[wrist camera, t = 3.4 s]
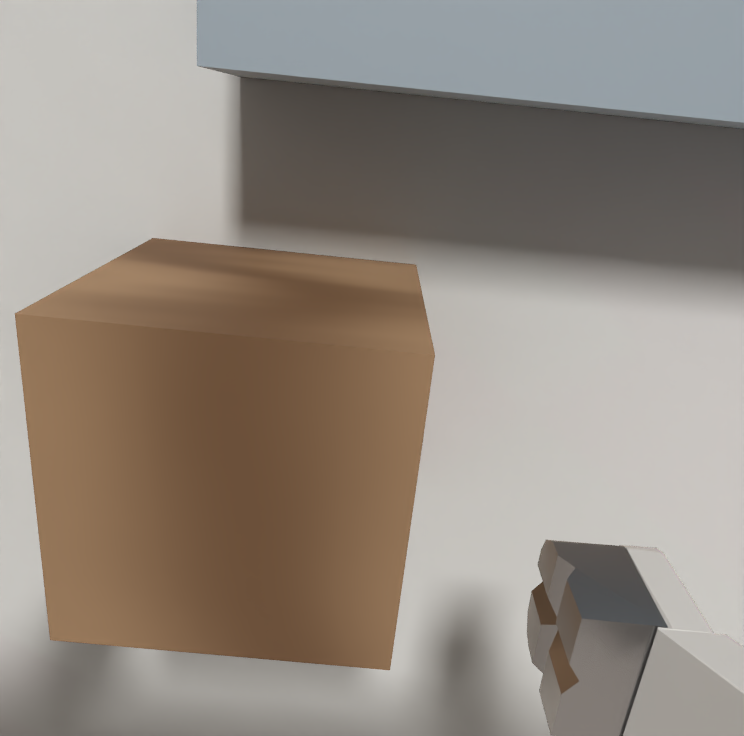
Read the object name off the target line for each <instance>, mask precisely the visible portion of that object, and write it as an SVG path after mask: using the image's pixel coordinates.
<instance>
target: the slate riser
mask: <svg viewBox="0 0 744 736" xmlns="http://www.w3.org/2000/svg"><path fill="white" fill-rule="evenodd" d="M197 66H200V67H204V68H208V69H212V70H216V71H220V72H224V73H227V74H231V75H235V76H239V77H249V78H258V79H268V80H278V81H287V82H297V83H307V84H316V85H326V86H336V87H345V88H355V89H364V90H374V91H384V92H393V93H403V94H413V95H422V96H432V97H442V98H451V99H461V100H471V101H480V102H490V103H499V104H509V105H519V106H528V107H538V108H548V109H557V110H567V111H577V112H586V113H596V114H606V115H615V116H625V117H634V118H644V119H654V120H663V121H673V122H683V123H692V124H702V125H712V126H721V127H731V128H741V129H744V0H197Z"/></svg>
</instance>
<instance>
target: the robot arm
mask: <svg viewBox="0 0 744 736" xmlns="http://www.w3.org/2000/svg"><path fill="white" fill-rule="evenodd" d="M538 567H539V571H540V574H541V577H542V580H543V582H542V583H541V584H539V585H538V586H537V587H536V588H535V589H534V590H532V592H531V597H530V602H529V607H528V616H527V637H528V646H529V651H530V656H531V660H532V663H533V664H534V665H535V666H536V667H537V668H538V669H539V670H540V671H541V672H542V673H543V676H542V681H541V685H540V689H539V692H540V696H541V700H542V704H543V707H544V711H545V715H546V719H547V723H548V727H549V730H550V734H551V735H552V736H744V646H743V645H741V644H740V643H738V642H737V641H735V640H734V639H732V638H731V637H729V636H728V635H726V634H718V633H714V632H713V631H712V629H711V627H710V626H709V624H708V623H707V621H706V619H705V618H704V616H703V615H702V613H701V611H700V610H699V608H698V607H697V605H696V603H695V602H694V600H693V599H692V597H691V596H690V594H689V592H688V591H687V589H686V588H685V586H684V584H683V583H682V581H681V580H680V578H679V576H678V575H677V573H676V572H675V570H674V569H673V567H672V565H671V564H670V562H669V561H668V559H667V557H666V556H665V554H664V553H663V552H662V551H660V550H659V549H657V548H653V547H638V546H623V545H619V546H615V545H603V544H591V543H579V542H567V541H555V540H546V541H545V543H544V545H543V547H542V549H541V553H540V557H539V561H538Z"/></svg>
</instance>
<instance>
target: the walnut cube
mask: <svg viewBox="0 0 744 736" xmlns="http://www.w3.org/2000/svg"><path fill="white" fill-rule="evenodd" d="M15 319H16V329H17V338H18V347H19V356H20V365H21V375H22V384H23V393H24V402H25V412H26V421H27V430H28V439H29V448H30V458H31V467H32V476H33V485H34V495H35V504H36V513H37V522H38V531H39V541H40V550H41V559H42V568H43V578H44V587H45V596H46V605H47V614H48V624H49V633H50V640H55V641H66V642H78V643H89V644H100V645H112V646H123V647H134V648H145V649H157V650H168V651H179V652H191V653H202V654H213V655H224V656H236V657H247V658H258V659H269V660H281V661H292V662H303V663H315V664H326V665H337V666H348V667H360V668H371V669H382V670H390V666H391V659H392V652H393V645H394V638H395V631H396V624H397V617H398V610H399V603H400V596H401V589H402V582H403V575H404V568H405V561H406V554H407V547H408V540H409V533H410V526H411V519H412V512H413V505H414V498H415V491H416V484H417V477H418V470H419V463H420V456H421V449H422V442H423V435H424V428H425V421H426V414H427V407H428V400H429V393H430V386H431V379H432V372H433V365H434V358H435V353H434V348H433V343H432V339H431V334H430V329H429V324H428V320H427V315H426V310H425V305H424V300H423V296H422V291H421V286H420V281H419V276H418V272H417V267H416V265H413V264H403V263H394V262H384V261H374V260H364V259H354V258H344V257H334V256H324V255H315V254H305V253H295V252H285V251H275V250H265V249H255V248H245V247H236V246H226V245H216V244H206V243H196V242H186V241H176V240H167V239H157V238H152V239H150V240H149V241H147V242H145V243H143V244H141V245H140V246H138V247H136V248H134V249H132V250H130V251H129V252H127V253H125V254H123V255H121V256H119V257H118V258H116V259H114V260H112V261H110V262H108V263H107V264H105V265H103V266H101V267H99V268H97V269H96V270H94V271H92V272H90V273H88V274H87V275H85V276H83V277H81V278H79V279H77V280H76V281H74V282H72V283H70V284H68V285H66V286H65V287H63V288H61V289H59V290H57V291H55V292H54V293H52V294H50V295H48V296H46V297H44V298H43V299H41V300H39V301H37V302H35V303H34V304H32V305H30V306H28V307H26V308H24V309H23V310H21V311H19V312H17V313H15Z"/></svg>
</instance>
